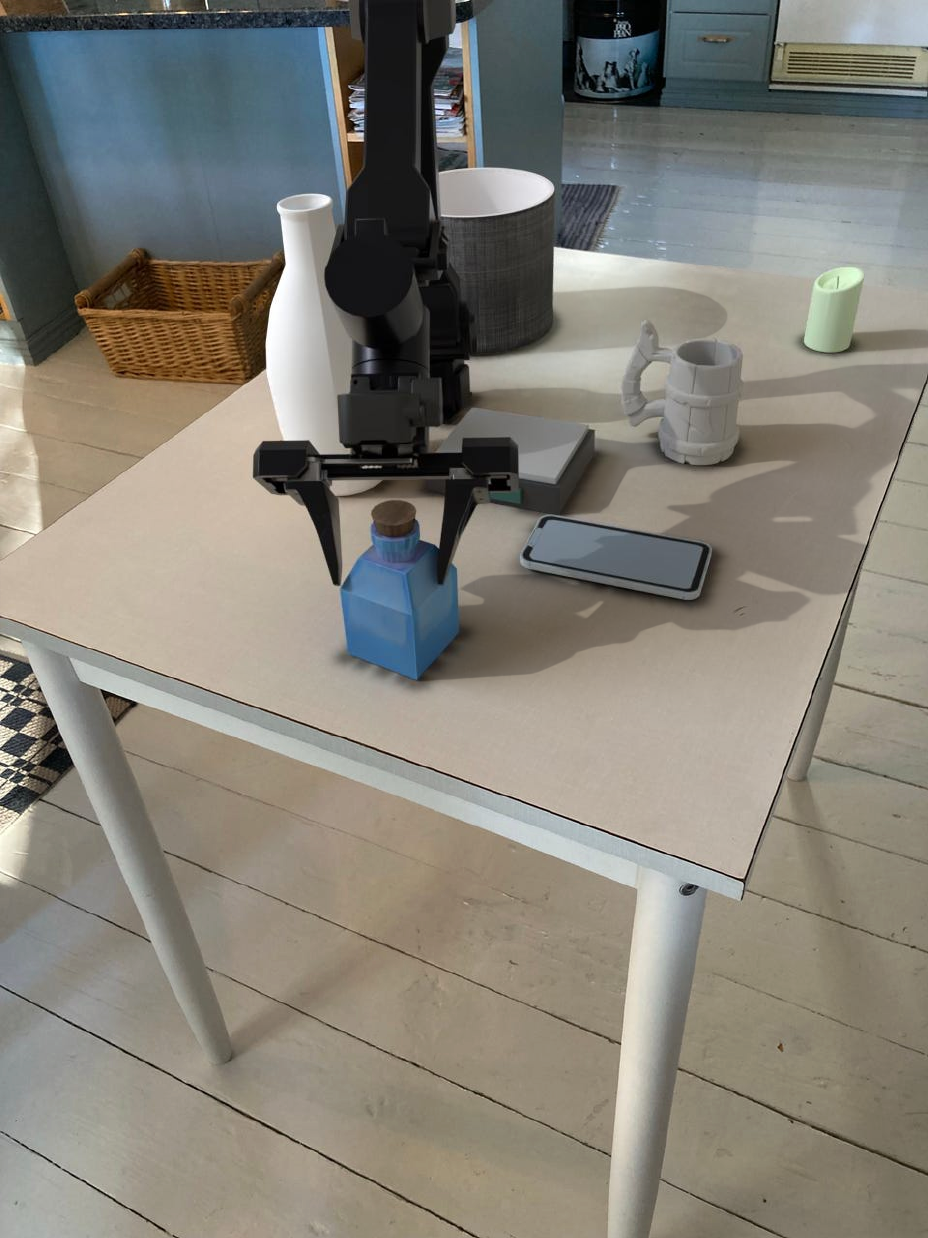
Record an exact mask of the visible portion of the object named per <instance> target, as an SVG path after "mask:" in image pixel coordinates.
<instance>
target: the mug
mask: <svg viewBox="0 0 928 1238" xmlns="http://www.w3.org/2000/svg"><path fill="white" fill-rule="evenodd" d="M659 343H660V341H659V333H658V331H657V329H656V328H655V326H654V324H653V323H652V322H651V321H650V320H649V319H647V318H645V319H643V321H642V322H641V324H640V334H639V337H638V341H637V342H636V344H635V348H634V349H633V352H632V354H631V356H630V358H629V360H628V363H627V365H626V368H625V371H624V374H623V376H622V378H621V385H620V386H621V402H620V403H621V408H622V411H623V414H624V415H626V416H627V420H628V423H629V426H631V427H633V428H636V427H638V426H640V425H641V424H642V423H644V421H646V420H649V419H653V418H662V419H660V421H659V424H658V429H657V436H658V439H659V441H660V442H659V447H660V449H661V452H662V453H664V455H665V457H667V458H669V459H670V460H673V461H674V462H676V463H679V464H685V463H688V464H690V465H691V466H710V465H714V464H718V463H720V462H724V461H726V460H727V459H729V458H730V457H731V455H732V454H733V453H734V449H735V446H737V443H738V442H739V438H740V427H739V425H738V410H739V402H740V401H739V399H740V398H741V397H742V396H743V393H744V392H743V390H744V382H743V380H742V378H741V377H742V368H743V357H744V356H743V351H742V349H741V348H740V347H738V346H737V345H735V344H734V343H731V342H729V341H727V340H723V339H716V338H708V337H707V338H693V339H687V340H686V341H682V342H679V343H678V344H676V345H675V346H674V347H673V349H672V348H668V347H660V345H659ZM652 362H661V363H666V364H669V371H668V374H667V375H666V377H665V383H664V391H665V393H666V395H665V398H660V399H654V400H651V401H648V398H646V397H645V395H644V393H643V391H642V390H641V382H642V374H643V372H644V371H646V370H647V368H648V367H649V366H650V365H651V364H652Z"/></svg>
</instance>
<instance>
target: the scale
mask: <svg viewBox="0 0 928 1238" xmlns="http://www.w3.org/2000/svg"><path fill="white" fill-rule="evenodd" d="M486 437H511V439H512V440H513V441H514V442H515V443H516V444H517V445H518V452H519V491H516V492H512V493H490V503H492V504H496V505H502V506H508V507H513V508H518V509H519V508H520V509H525V510H530V511H535V512H542V513H545V514H546V513H547V514H550V515H557V516H560V514H561V512H562V510H563V509H564V507H565V505H566V504H567V502H568V500H569V498H570V497H571V495H572V493H573V492H574V490H575V489H576V486H577V485H578V483H579V481H580V480H581V478H582V476H583V475H584V473H585V471H586V470H587V468H588V466H589V465H590V463H591V461H592V459H593V458H594V456H595V443H596V442H595V441H596V429H592V428H590V425H589V424H585V423H579V422H571V421H565V420H559V419H553V418H547V417H539V416H533V415H527V414H526V415H525V414H520V413H519V414H518V413H513V412H506V411H499V410H492V409H487V408H486V409H485V408H480V407H472V406H471V408H470V409H469V410H468V411H467V413H466V414H465V415H464V416H463V417H462V419H461V420H460V421H459V423H457V425H456V426H455V427H454V429H452V431H451V432H450V433H449V434H448V436H447V437H446V438H445V440H444V441H443V442H442V443H441V444H440V446H439V447H438V448H437V449H436V451H435V452H434V453H455V452H462V440H463V438H486ZM425 481H426V483H425V484H426V491H427V492H431V493H437V494H443V495H445V479H425Z"/></svg>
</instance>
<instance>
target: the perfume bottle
mask: <svg viewBox="0 0 928 1238" xmlns="http://www.w3.org/2000/svg"><path fill="white" fill-rule="evenodd" d="M370 516H371V519H372V523H371V524H370V528H369V529H370V530H369V531H370V539H371V543H372V544H371V546H370V547H368V548H367V549H366V550H365V551H363V553H362V554H360V556H358V557H357V558H356V561H355V562H354V564H353V566H352V567H351V569H350V571H349V573H348V575H347V576H346V578H345V579H344V581H343V583H342V584H341V586H340V588H339V593H340V594H339V595H340V602H341V609H342V617H343V626H344V633H345V640H346V648H347V655H351V656H352V657H356V658H358V659H361V660H364V661H366V662H369V663H371V664H374V665H376V666H379V667H382V668H384V669H386V670H389V671H392V672H395V673H397V674H400V675H402V676H405V677H407V678H410V679H412V680H415V681H418V680H419V679H420V678H421V676H422V675H423V674H424V673H425V672H426V671H427V670H428V669H429V667H430V666H431V665H432V664H433V663H434V662H435V661H436V659H438V658H439V656H440V655H441V654H442V652H444V651H445V649H447V647H448V646H449V645H450V644H451V643H452V641H453V640H454V639H455V638H456V637H457V636H458V635H459V633H460V617H459V616H460V615H459V586H458V583H459V582H458V568H457V567H456V566H455V565H454V563H452V564H451V567H450V570H449V572H448V575H447V578H446V581H445V584H444V585H443V586H439V585H438V582H437V561H438V552H439V546H437V545H436V544H435V543H431V542H428V541H426V540H422V539H420V538H421V529H420V523H419V521H418V519H417V518H416V516H417V508H416V506H415V505H414V504H413V503H411V502H408V501H406V500H401V499H390V500H385V501H382V502H379V503H378V504H376V505H374V507H373V508H372V509H371V512H370Z"/></svg>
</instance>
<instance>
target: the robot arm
mask: <svg viewBox="0 0 928 1238" xmlns="http://www.w3.org/2000/svg"><path fill="white" fill-rule="evenodd" d="M347 2H348V12H349V22H350V31H351V39H353V40H356V41H358V42H362V46H363V53H364V91H363V92H364V98H363V99H364V100H363V156H362V157H363V158H362V168H361V170H360V171H359V172H358V174H357V175H356V177H355V178H354V179H353V181H352V182H351V183H350V184H349V186H348V187H347V189H346V191H345V202H344V203H345V204H344V220H343V222H344V223H338V225H337V228H336V230H335V231H336V235H335V238H334V242H333V246H332V249H331V253H330V257H329V260H328V263H327V266H326V267H325V270H324V280H325V287H326V289H327V292H328V294H329V297H330V299H331V301H332V303H333V305H334V307H335V309H336V311H337V313H338V315H339V318H340V320H341V322H342V324H343V326H344V328H345V330H346V332H347V334H348V335H349V337H350V338H351V339H352V362H351V381H350V392H349V393H348V394H340V395H337V402H338V422H339V442H340V443H342V444H343V446H344V447H345V448H350V454H321V455H320V454H319V452H318V451H317V450H316V449H315V447H314V446H313V445H312V443H311V442H310V441H309V440H297V441H284V440H262V441H261V442H260V443H259V445H258V446H257V447H256V449H255V450H254V453H253V456H252V461H253V462H252V478H253V479H254V480H255V481H256V482H257V483H258V484H259V485H260V486H261V487H262V488H263V489H265V490H266V491H267V492H268V493H270V494H271V495H274V496H289V497H291V499H293V500H294V501H295V502H296V503H297V504H298V505H299V506H303V507H305V508H306V510H307V513H308V515H309V517H310V519H311V521H312V523H313V525H314V528H315V531H316V533H317V536H318V540H319V544H320V547H321V550H322V553H323V557H324V559H325V563H326V566H327V569H328V572H329V575H330V579H331V582H332V584H333V586H335V587H342V580H343V579H342V577H343V552H342V532H341V519H340V518H341V515H340V514H341V513H340V499H339V498H338V496H335V495H334V494H333V492H332V491H331V490H330V486H332V481H337V480H382V481H401V480H402V481H404V480H405V481H407V480H409V481H410V480H426V479H445V494H444V502H443V512H442V513H443V514H442V519H441V520H442V521H441V529H440V537H439V545H438V548H439V552H438V561H437V582H438V585H439V586H443V585H444V584H445V581H446V578H447V575H448V572H449V570H450V567H451V564H453V561H454V558H455V555H456V553H457V549H458V547H459V544H460V541H461V539H462V536H463V534H464V531H465V530H466V527H467V526H468V524H469V522H470V520H471V518H472V516H473V514H474V512H475V511H476V508H477V506H478V505H488V504H490V503H491V502H490V493H512V492H516V491H519V452H518V445H517V444H516V443H515V442H514V441H513V440H512V439H511V437H486V438H463V440H462V452H455V453H435V452H430V428H432V427H434V428H437V427H438V428H439V427H440V426H442V425H443V424H450V423H453V422H454V420H455V419H456V418H457V417H458V416H459V414H460V413H461V412H462V411H463V409H464V408H465V407H466V406H467V405H468V403H470V401H471V400H472V399H473V392H472V391H471V380H470V365H469V364H468V363H465V361H470V360H471V356H473V355H472V354H474V353H476V352H477V331H476V322H475V315H474V314H473V313H472V312H471V311H470V307H469V306H468V300H461V284H460V277H459V276H458V274H457V273H456V271H455V270H454V268H453V267H452V265H451V264H450V262H449V260H450V255H451V239H450V236H449V235H448V234H447V233H446V232H445V226H443V224H442V220H441V207H440V188H439V155H438V153H439V152H438V136H437V135H438V134H437V117H436V100H435V98H436V97H435V80H436V77H437V75H438V73H439V71H440V68H441V66H442V64H443V62H444V60H445V57H446V55H447V53H448V51H449V48H450V35H453V34H454V32H455V29H456V25H457V9H456V8H457V5H456V0H347ZM362 466H363V467H364V466H381V468H362ZM399 466H400V467H399ZM403 466H404V467H403ZM408 466H409V467H408ZM414 466H415V467H414Z"/></svg>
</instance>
